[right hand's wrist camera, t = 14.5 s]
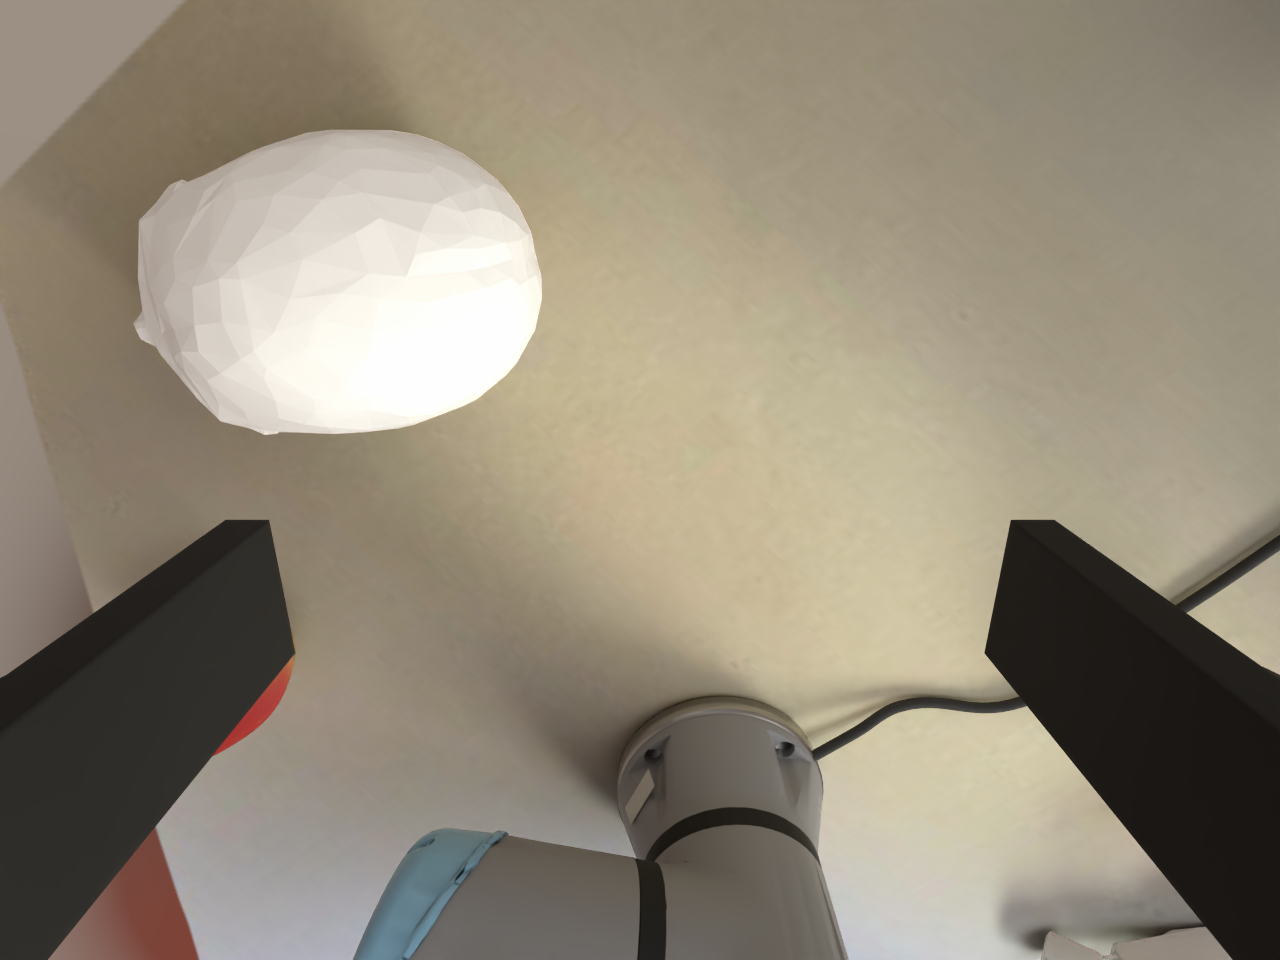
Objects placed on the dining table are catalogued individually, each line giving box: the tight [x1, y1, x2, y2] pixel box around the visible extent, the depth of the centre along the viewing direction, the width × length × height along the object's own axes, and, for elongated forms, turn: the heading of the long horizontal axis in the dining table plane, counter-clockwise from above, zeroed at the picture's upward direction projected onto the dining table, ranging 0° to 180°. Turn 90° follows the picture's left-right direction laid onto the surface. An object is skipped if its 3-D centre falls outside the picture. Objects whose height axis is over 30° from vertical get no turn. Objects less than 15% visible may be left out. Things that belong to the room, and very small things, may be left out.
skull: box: [133, 130, 542, 435], centre depth 34 cm, size 13×22×16 cm, turn 104°
